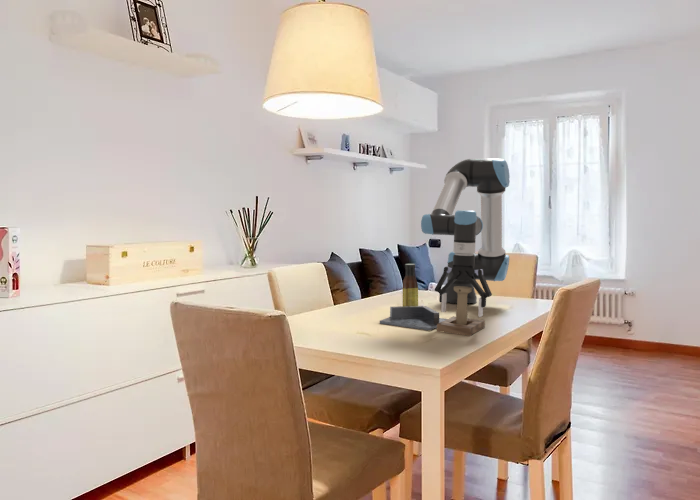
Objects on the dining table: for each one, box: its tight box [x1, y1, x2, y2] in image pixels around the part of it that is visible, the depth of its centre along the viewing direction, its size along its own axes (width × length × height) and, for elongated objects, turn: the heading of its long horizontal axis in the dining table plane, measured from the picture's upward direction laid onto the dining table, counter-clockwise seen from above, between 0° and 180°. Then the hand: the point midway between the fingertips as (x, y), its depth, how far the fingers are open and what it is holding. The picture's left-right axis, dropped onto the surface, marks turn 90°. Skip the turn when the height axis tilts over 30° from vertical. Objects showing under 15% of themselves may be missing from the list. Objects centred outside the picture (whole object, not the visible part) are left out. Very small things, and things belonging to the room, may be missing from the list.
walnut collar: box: [436, 316, 486, 337], centre depth 203 cm, size 16×12×2 cm
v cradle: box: [379, 305, 448, 331], centre depth 212 cm, size 18×20×5 cm
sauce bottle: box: [402, 263, 419, 306], centre depth 229 cm, size 6×6×20 cm
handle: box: [454, 286, 472, 325], centre depth 202 cm, size 5×6×15 cm
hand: (461, 314), depth 203 cm, fingers open, 13 cm apart
